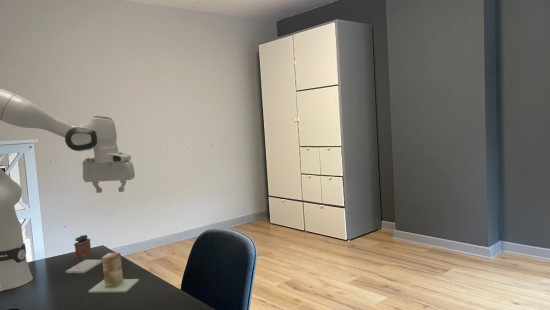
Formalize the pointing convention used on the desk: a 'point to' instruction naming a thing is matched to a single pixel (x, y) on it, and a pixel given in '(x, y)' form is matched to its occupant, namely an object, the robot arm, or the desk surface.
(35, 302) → the desk surface
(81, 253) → the lighter
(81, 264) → the external hard drive
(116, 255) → the oak block
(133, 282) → the mat
